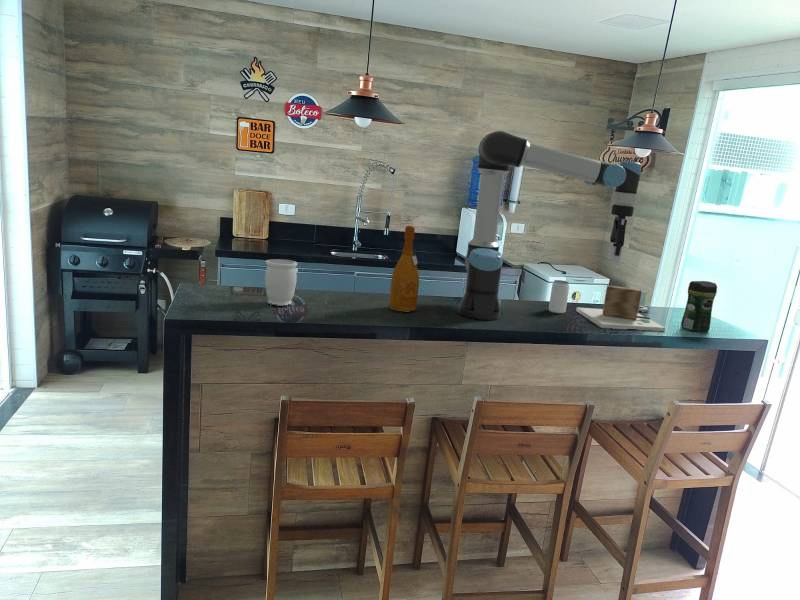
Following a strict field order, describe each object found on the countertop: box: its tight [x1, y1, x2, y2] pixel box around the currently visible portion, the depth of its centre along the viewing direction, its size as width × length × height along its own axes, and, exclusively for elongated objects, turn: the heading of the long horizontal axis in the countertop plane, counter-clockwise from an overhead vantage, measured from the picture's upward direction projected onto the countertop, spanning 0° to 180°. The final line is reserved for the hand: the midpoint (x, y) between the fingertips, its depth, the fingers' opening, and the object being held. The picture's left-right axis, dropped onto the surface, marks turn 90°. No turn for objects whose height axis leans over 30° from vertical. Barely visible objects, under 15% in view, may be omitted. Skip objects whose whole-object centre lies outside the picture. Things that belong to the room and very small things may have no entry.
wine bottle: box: [389, 225, 420, 312], centre depth 209 cm, size 10×10×30 cm
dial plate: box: [575, 306, 666, 332], centre depth 225 cm, size 24×24×2 cm
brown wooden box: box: [602, 284, 651, 320], centre depth 223 cm, size 17×3×11 cm, turn 75°
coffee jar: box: [680, 280, 718, 333], centre depth 220 cm, size 10×8×19 cm
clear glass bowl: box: [638, 290, 649, 313], centre depth 247 cm, size 12×12×8 cm
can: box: [548, 279, 570, 314], centre depth 230 cm, size 6×6×12 cm
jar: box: [264, 258, 298, 305], centre depth 203 cm, size 11×10×15 cm
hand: (612, 261), depth 222 cm, fingers open, 13 cm apart
